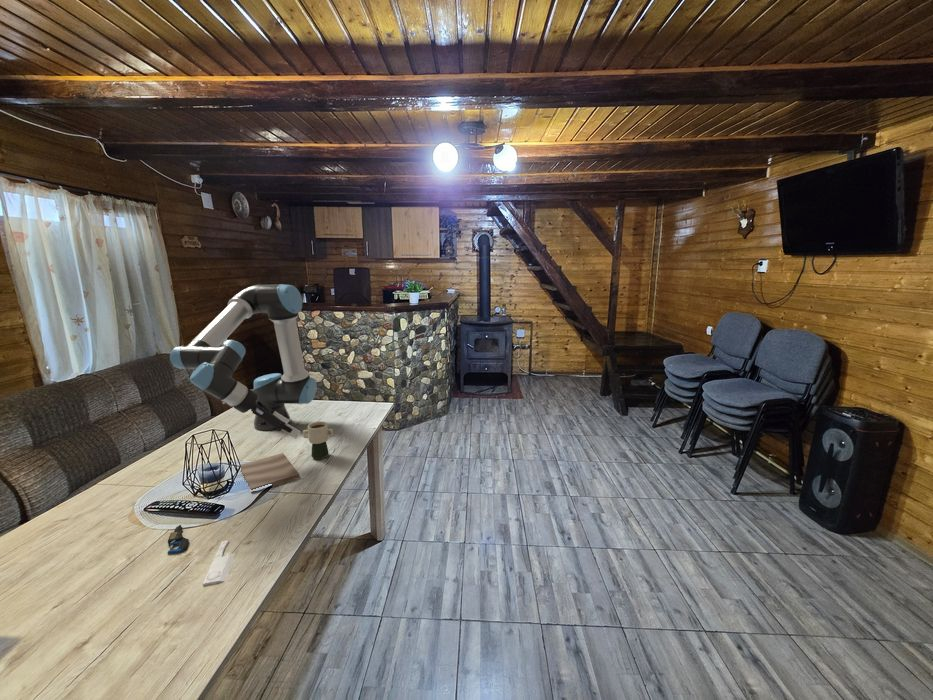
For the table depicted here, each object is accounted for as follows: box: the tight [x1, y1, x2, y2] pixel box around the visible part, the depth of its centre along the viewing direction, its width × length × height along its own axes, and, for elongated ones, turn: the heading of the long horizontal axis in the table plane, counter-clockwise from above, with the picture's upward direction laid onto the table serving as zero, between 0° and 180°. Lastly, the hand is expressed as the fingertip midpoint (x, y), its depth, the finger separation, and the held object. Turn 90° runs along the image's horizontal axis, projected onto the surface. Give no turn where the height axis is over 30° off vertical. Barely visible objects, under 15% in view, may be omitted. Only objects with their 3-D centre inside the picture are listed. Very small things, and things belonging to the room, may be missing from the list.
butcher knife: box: [202, 539, 237, 587], centre depth 99 cm, size 5×15×1 cm, turn 16°
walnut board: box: [240, 452, 300, 490], centre depth 140 cm, size 20×15×2 cm
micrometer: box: [167, 524, 190, 555], centre depth 107 cm, size 12×2×5 cm
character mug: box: [302, 420, 334, 460], centre depth 151 cm, size 11×7×13 cm, turn 98°
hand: (292, 428), depth 144 cm, fingers open, 13 cm apart
